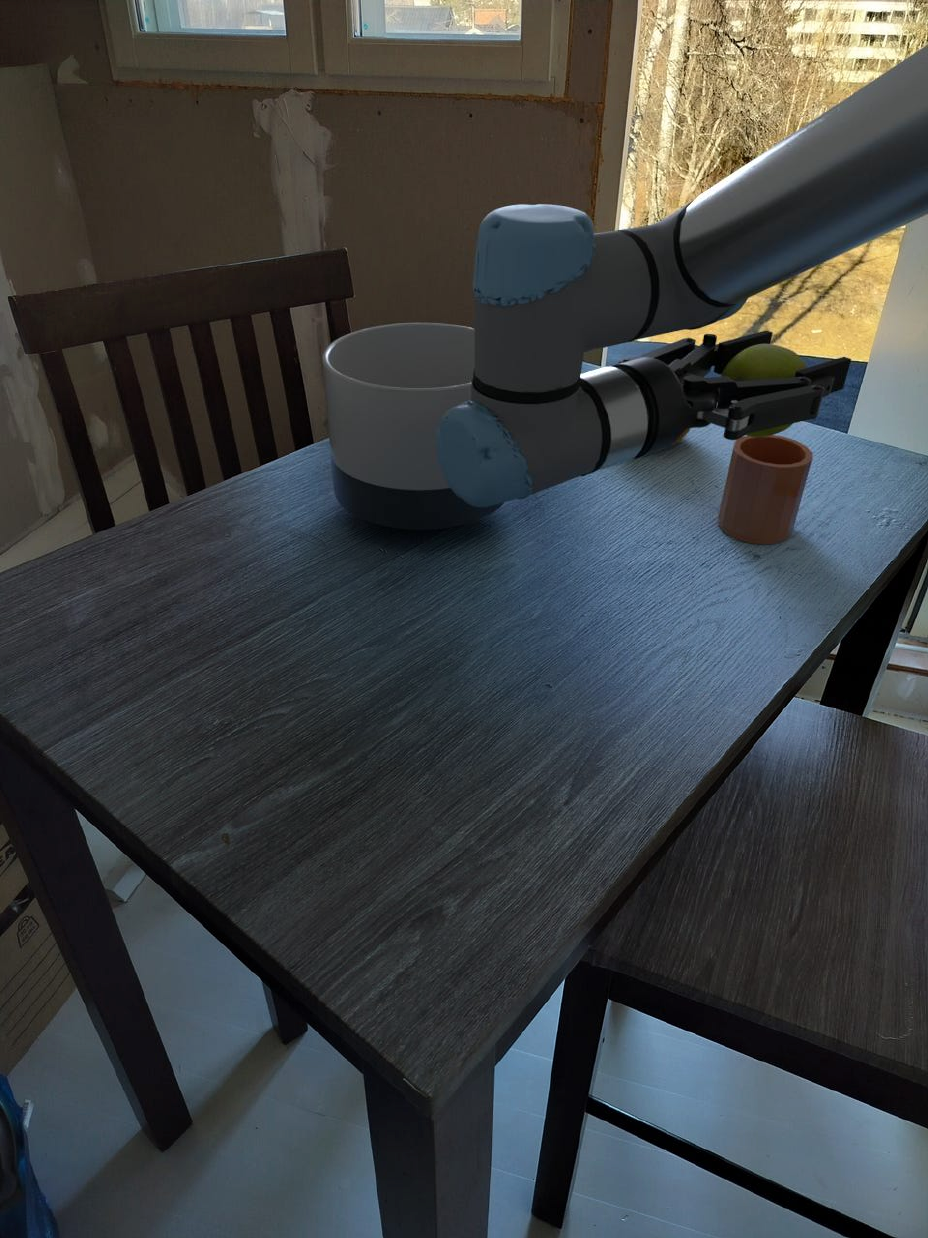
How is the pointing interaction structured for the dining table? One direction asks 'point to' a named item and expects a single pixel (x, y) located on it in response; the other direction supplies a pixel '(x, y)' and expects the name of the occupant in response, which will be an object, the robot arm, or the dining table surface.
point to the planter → (397, 422)
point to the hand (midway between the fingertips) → (803, 358)
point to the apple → (764, 370)
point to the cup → (764, 488)
